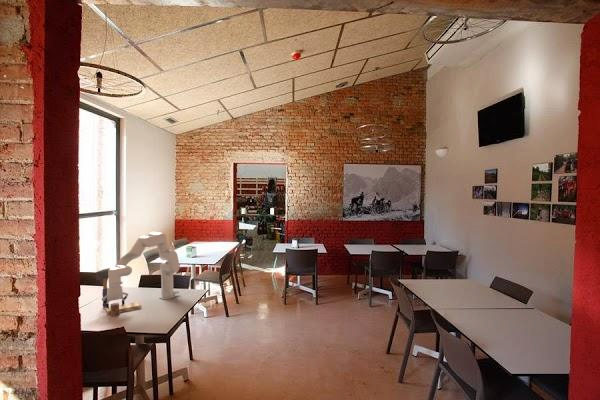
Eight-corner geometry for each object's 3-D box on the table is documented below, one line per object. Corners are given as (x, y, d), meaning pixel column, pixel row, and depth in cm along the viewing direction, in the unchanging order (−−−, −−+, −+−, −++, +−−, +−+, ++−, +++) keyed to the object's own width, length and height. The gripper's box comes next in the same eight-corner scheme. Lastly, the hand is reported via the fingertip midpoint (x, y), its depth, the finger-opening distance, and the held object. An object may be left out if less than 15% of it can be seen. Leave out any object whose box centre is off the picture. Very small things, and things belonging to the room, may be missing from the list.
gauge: (116, 309, 249) (116, 299, 249) (119, 315, 238) (119, 304, 238) (109, 310, 246) (109, 300, 246) (111, 316, 235) (111, 305, 235)
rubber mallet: (102, 309, 249) (102, 271, 248) (94, 308, 250) (94, 270, 250) (115, 304, 261) (114, 267, 260) (107, 303, 262) (107, 267, 262)
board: (139, 304, 260) (138, 301, 260) (141, 308, 252) (141, 305, 252) (106, 310, 246) (106, 307, 246) (107, 314, 238) (107, 311, 238)
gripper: (126, 281, 246) (127, 302, 247) (100, 285, 236) (101, 308, 237) (128, 283, 240) (129, 305, 241) (101, 288, 230) (102, 311, 231)
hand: (115, 307), depth 239 cm, fingers open, 9 cm apart
